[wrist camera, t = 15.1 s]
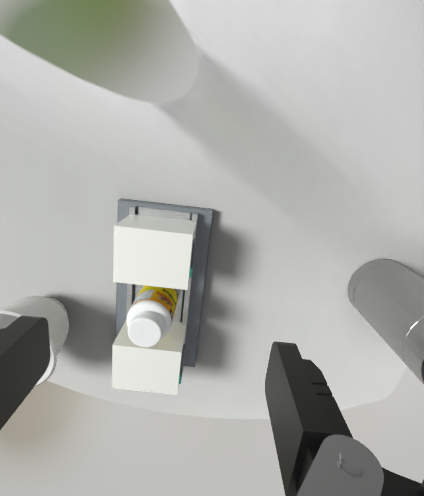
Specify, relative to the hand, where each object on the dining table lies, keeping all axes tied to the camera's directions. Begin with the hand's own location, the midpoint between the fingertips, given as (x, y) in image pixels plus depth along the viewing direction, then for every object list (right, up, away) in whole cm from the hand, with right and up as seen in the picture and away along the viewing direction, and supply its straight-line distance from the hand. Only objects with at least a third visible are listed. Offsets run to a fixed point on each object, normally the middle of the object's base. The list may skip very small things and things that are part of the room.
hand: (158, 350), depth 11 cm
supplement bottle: (-6, -3, +34) cm, 34 cm away
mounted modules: (-6, -3, +33) cm, 34 cm away
